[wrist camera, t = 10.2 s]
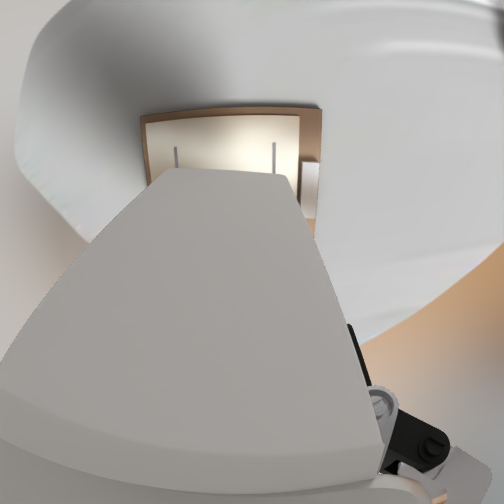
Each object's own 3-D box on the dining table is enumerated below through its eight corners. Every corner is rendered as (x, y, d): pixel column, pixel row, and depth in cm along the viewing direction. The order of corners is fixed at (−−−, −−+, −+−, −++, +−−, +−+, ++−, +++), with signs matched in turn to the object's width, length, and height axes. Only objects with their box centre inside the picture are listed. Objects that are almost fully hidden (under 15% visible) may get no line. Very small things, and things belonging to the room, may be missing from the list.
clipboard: (142, 116, 20) (137, 117, 19) (320, 109, 20) (324, 109, 19) (162, 256, 27) (158, 262, 26) (310, 254, 27) (312, 261, 26)
